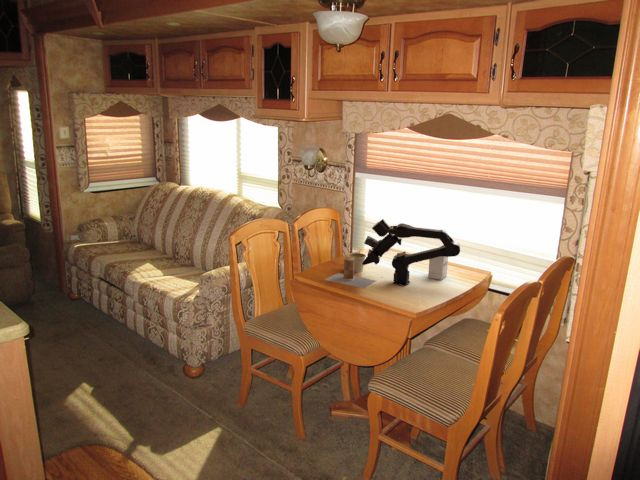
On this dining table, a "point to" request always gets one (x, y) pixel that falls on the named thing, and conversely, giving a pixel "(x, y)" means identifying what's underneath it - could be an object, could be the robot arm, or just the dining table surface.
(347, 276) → the walnut block
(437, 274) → the supplement box
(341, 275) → the rubber mat
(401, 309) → the dining table surface
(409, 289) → the dining table surface
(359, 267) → the flower pot
